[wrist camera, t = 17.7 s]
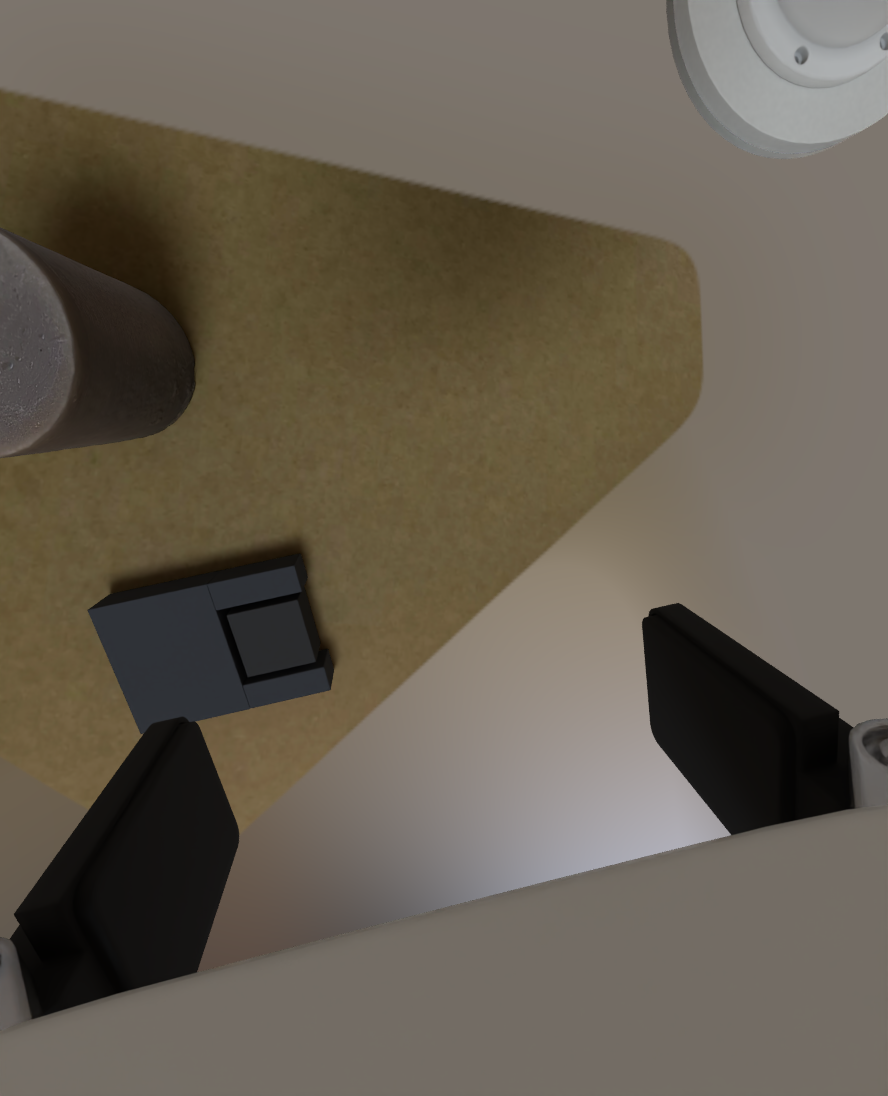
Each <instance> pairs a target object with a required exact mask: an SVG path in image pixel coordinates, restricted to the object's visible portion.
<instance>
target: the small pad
mask: <svg viewBox="0 0 888 1096" xmlns="http://www.w3.org/2000/svg"><path fill="white" fill-rule="evenodd" d="M227 618H228V621H229V624H230V627H231V630H232V633H233V636H234V638H235V641H236V644H237V647H238V650H239V653H240V656H241V659H242V662H243V665H244V667H245V670H246V673H247V676H248V677H251V676H256V675H260V674H265V673H269V672H273V671H278V670H282V669H287V668H291V667H296V666H300V665H304V664H309V663H313V662H316V659H317V656H318V652H319V648H320V644H321V643H320V639H319V636H318V633H317V629H316V626H315V622H314V619H313V615H312V612H311V608H310V605H309V602H308V598H307V595H306V591H305V588H303V590H302V592H299V593H294V594H289V595H285V596H280V597H276V598H271V599H267V600H262V601H257V602H253V603H248V604H244V605H239V606H234V607H232V609H231V610H230V611H229V613H228V614H227Z"/></svg>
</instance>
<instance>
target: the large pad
mask: <svg viewBox="0 0 888 1096" xmlns="http://www.w3.org/2000/svg"><path fill="white" fill-rule="evenodd" d="M307 578H308V577H307V573H306V570H305V566H304V563H303V559H302V556H301V554H295V555H291V556H286V557H281V558H277V559H272V560H267V561H263V562H258V563H253V564H249V565H244V566H239V567H235V568H230V569H225V570H221V571H216V572H211V573H206V574H202V575H197V576H192V577H188V578H183V579H178V580H174V581H169V582H164V583H160V584H155V585H150V586H145V587H141V588H136V589H131V590H127V591H122V592H117V593H113V594H110V595H108V596H107V597H105V598H104V599H102V600H101V601H100V602H98V603H97V604H95V605H94V606H93V607H91V608H90V609H88V612H89V615H90V617H91V619H92V622H93V624H94V626H95V629H96V631H97V633H98V636H99V638H100V640H101V643H102V645H103V647H104V650H105V652H106V654H107V657H108V659H109V661H110V663H111V666H112V668H113V670H114V673H115V675H116V677H117V680H118V682H119V684H120V687H121V689H122V691H123V694H124V696H125V698H126V701H127V703H128V705H129V708H130V710H131V712H132V715H133V717H134V719H135V722H136V724H137V726H138V729H139V731H140V733H141V734H143V733H145V731H146V730H147V729H148V727H149V726H150V725H151V724H152V723H156V722H160V721H165V720H169V719H173V718H178V717H182V716H183V717H186V718H187V719H188V720H189V722H193V721H194V722H195V721H199V720H203V719H208V718H212V717H217V716H221V715H225V714H230V713H234V712H238V711H243V710H247V709H250V708H255V707H259V706H263V705H268V704H272V703H276V702H281V701H285V700H289V699H294V698H298V697H303V696H307V695H311V694H316V693H320V692H324V691H329V690H331V684H332V679H333V673H334V668H333V664H332V661H331V657H330V654H329V650H328V649H324V650H320V651H319V652H318V656H317V659H316V662H313V663H309V664H304V665H300V666H296V667H291V668H287V669H282V670H278V671H273V672H269V673H265V674H260V675H256V676H251V677H248V676H247V673H246V670H245V667H244V665H243V662H242V659H241V656H240V653H239V650H238V647H237V644H236V641H235V638H234V636H233V633H232V630H231V627H230V624H229V621H228V618H227V614H228V613H229V611H230V610H231V609H232V607H234V606H239V605H244V604H248V603H253V602H257V601H262V600H267V599H271V598H276V597H280V596H285V595H289V594H294V593H299V592H302V590H303V588H304V585H305V583H306V581H307Z"/></svg>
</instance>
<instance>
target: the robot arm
mask: <svg viewBox="0 0 888 1096" xmlns="http://www.w3.org/2000/svg"><path fill="white" fill-rule="evenodd" d="M737 6H738V10H739V13H740V17H741V20H742V24H743V27H744V30H745V32H746V34H747V36H748V38H749V40H750V42H751V44H752V46H753V48H754V50H755V51H756V52H757V54H758V55H759V56H760V58H761V59H762V60H763V62H764V63H765V64H766V65H767V66H768V67H769V68H770V69H771V70H773V71H774V72H775V73H776V74H777V75H779V76H780V77H781V78H784V79H786V80H788V81H790V82H792V83H794V84H796V85H800V86H805V87H809V88H829V87H834V86H838V85H841V84H844V83H848V82H850V81H852V80H854V79H856V78H857V77H859V76H861V75H863V74H865V73H866V72H868V71H869V70H871V69H872V68H873V67H875V66H876V65H878V64H879V63H880V62H882V61H883V60H885V59H886V58H887V57H888V0H737ZM642 630H643V640H644V641H643V642H644V654H645V665H646V678H647V689H648V702H649V713H650V725H651V729H652V733H653V735H654V738H655V740H656V741H657V743H658V744H659V746H660V747H661V748H662V749H663V751H664V752H665V753H666V754H667V756H668V757H669V758H670V759H671V760H672V762H673V763H674V764H675V766H676V767H677V768H678V769H679V770H680V772H681V773H682V774H683V775H684V777H685V778H686V779H687V780H688V782H689V783H690V784H691V785H692V787H693V788H694V789H695V790H696V792H697V793H698V794H699V795H700V796H701V798H702V799H703V800H704V802H705V803H706V804H707V805H708V807H709V808H710V809H711V810H712V811H713V813H714V814H715V815H716V816H717V818H718V819H719V820H720V821H721V823H722V824H723V825H724V826H725V828H726V829H727V830H728V831H729V833H730V834H731V836H727V837H723V838H719V839H714V840H711V841H706V842H702V843H698V844H694V845H690V846H686V847H682V848H678V849H674V850H671V851H666V852H662V853H658V854H654V855H650V856H646V857H642V858H638V859H634V860H630V861H626V862H622V863H619V864H615V865H610V866H606V867H603V868H598V869H594V870H590V871H586V872H582V873H578V874H574V875H571V876H566V877H563V878H558V879H555V880H550V881H547V882H543V883H539V884H535V885H531V886H527V887H523V888H520V889H515V890H511V891H507V892H503V893H500V894H496V895H492V896H488V897H484V898H480V899H476V900H472V901H468V902H464V903H461V904H457V905H453V906H449V907H445V908H442V909H437V910H433V911H430V912H426V913H422V914H418V915H414V916H410V917H406V918H403V919H399V920H395V921H391V922H387V923H383V924H379V925H375V926H372V927H368V928H364V929H360V930H356V931H353V932H348V933H345V934H341V935H337V936H333V937H330V938H326V939H322V940H318V941H314V942H311V943H307V944H303V945H299V946H296V947H292V948H288V949H284V950H280V951H277V952H273V953H269V954H265V955H261V956H258V957H254V958H250V959H246V960H243V961H239V962H235V963H231V964H227V965H223V966H220V967H216V968H212V969H208V970H205V971H201V972H197V970H198V967H199V964H200V961H201V958H202V955H203V952H204V949H205V945H206V943H207V939H208V937H209V933H210V930H211V927H212V924H213V921H214V918H215V915H216V912H217V909H218V906H219V903H220V900H221V896H222V893H223V891H224V888H225V884H226V881H227V878H228V875H229V872H230V869H231V866H232V863H233V860H234V857H235V853H236V850H237V848H238V843H239V829H238V825H237V822H236V820H235V817H234V815H233V812H232V809H231V807H230V804H229V802H228V799H227V797H226V794H225V791H224V789H223V786H222V784H221V781H220V779H219V776H218V773H217V771H216V768H215V766H214V763H213V761H212V758H211V755H210V753H209V750H208V748H207V745H206V743H205V740H204V737H203V735H202V732H201V730H200V727H199V725H198V724H197V723H196V722H194V721H193V722H189V720H188V719H187V718H186V717H183V716H182V717H178V718H173V719H169V720H165V721H160V722H156V723H152V724H151V725H150V726H149V727H148V729H147V730H146V731H145V733H144V734H143V736H142V737H141V738H140V740H139V741H138V743H137V744H136V745H135V747H134V748H133V750H132V751H131V752H130V754H129V755H128V756H127V758H126V759H125V761H124V762H123V763H122V765H121V766H120V768H119V769H118V770H117V772H116V773H115V775H114V776H113V777H112V779H111V780H110V781H109V783H108V784H107V786H106V787H105V788H104V790H103V791H102V793H101V794H100V795H99V797H98V798H97V800H96V801H95V802H94V804H93V805H92V806H91V808H90V809H89V811H88V812H87V813H86V815H85V816H84V818H83V819H82V820H81V822H80V823H79V824H78V826H77V828H76V829H75V830H74V831H73V833H72V834H71V836H70V837H69V838H68V840H67V841H66V843H65V844H64V845H63V847H62V848H61V850H60V851H59V852H58V854H57V855H56V857H55V858H54V859H53V861H52V862H51V863H50V865H49V866H48V868H47V869H46V870H45V872H44V873H43V875H42V876H41V877H40V879H39V880H38V882H37V883H36V884H35V886H34V887H33V889H32V890H31V891H30V893H29V894H28V895H27V897H26V898H25V899H24V901H23V902H22V904H21V905H20V906H19V908H18V909H17V911H16V912H15V913H14V916H15V917H16V919H17V921H18V922H19V924H20V925H19V927H18V928H17V929H16V931H15V932H14V934H13V935H12V937H11V938H10V939H6V938H2V937H0V1096H888V719H887V718H886V719H874V720H869V721H865V722H862V723H859V724H857V725H856V726H855V727H854V728H853V727H852V726H850V725H849V724H848V723H846V722H845V721H843V720H842V719H840V718H839V711H838V710H837V709H835V708H834V707H832V706H831V705H829V704H828V703H826V702H825V701H823V700H822V699H820V698H819V697H817V696H816V695H814V694H813V693H812V692H810V691H808V690H807V689H805V688H804V687H803V686H801V685H800V684H798V683H797V682H795V681H794V680H792V679H791V678H789V677H788V676H786V675H785V674H783V673H782V672H780V671H779V670H777V669H776V668H775V667H773V666H772V665H770V664H769V663H767V662H766V661H764V660H763V659H761V658H760V657H758V656H757V655H755V654H754V653H752V652H751V651H749V650H748V649H747V648H745V647H744V646H742V645H741V644H739V643H738V642H736V641H735V640H733V639H732V638H730V637H729V636H727V635H726V634H724V633H723V632H722V631H720V630H718V629H717V628H716V627H714V626H713V625H711V624H710V623H708V622H707V621H705V620H704V619H702V618H701V617H699V616H698V615H696V614H695V613H693V612H692V611H690V610H689V609H687V608H686V607H685V606H683V605H682V604H679V603H676V604H671V605H667V606H662V607H658V608H654V609H651V610H650V612H649V617H646V618H644V619H643V621H642Z"/></svg>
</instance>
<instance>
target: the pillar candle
mask: <svg viewBox="0 0 888 1096" xmlns="http://www.w3.org/2000/svg"><path fill="white" fill-rule="evenodd" d="M194 387H195V382H194V357H193V354H192V350H191V347H190V344H189V342H188V339H187V337H186V335H185V333H184V331H183V330H182V328H181V326H180V325H179V324H178V322H177V321H176V319H175V318H174V317H173V316H172V315H171V313H170V312H169V311H168V310H167V309H166V308H164V307H163V306H162V305H161V304H160V303H159V302H158V301H157V300H155V299H154V298H152V297H151V296H149V295H148V294H146V293H145V292H142V291H140V290H138V289H136V288H134V287H132V286H130V285H128V284H126V283H124V282H121V281H119V280H117V279H115V278H112V277H110V276H107V275H105V274H103V273H101V272H98V271H96V270H94V269H92V268H89V267H87V266H85V265H83V264H80V263H78V262H76V261H74V260H72V259H69V258H67V257H65V256H63V255H61V254H58V253H56V252H54V251H52V250H50V249H47V248H45V247H43V246H41V245H38V244H36V243H34V242H31V241H29V240H27V239H25V238H23V237H21V236H18V235H16V234H14V233H12V232H9V231H7V230H5V229H2V228H0V458H4V457H13V456H20V455H29V454H35V453H44V452H51V451H58V450H63V449H71V448H80V447H86V446H92V445H102V444H107V443H115V442H121V441H125V440H132V439H135V438H143V437H147V436H149V435H154V434H156V433H158V432H160V431H162V430H164V429H166V428H167V426H170V425H171V424H173V423H174V422H175V421H176V420H177V419H178V418H179V417H180V416H181V415H182V413H183V412H184V410H185V409H186V407H187V405H188V403H189V402H190V399H191V397H192V394H193V391H194Z"/></svg>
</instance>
